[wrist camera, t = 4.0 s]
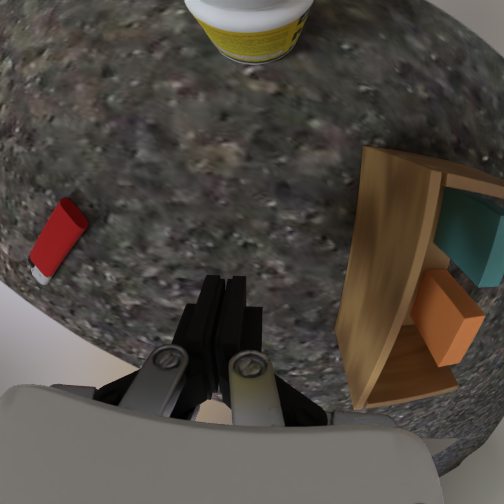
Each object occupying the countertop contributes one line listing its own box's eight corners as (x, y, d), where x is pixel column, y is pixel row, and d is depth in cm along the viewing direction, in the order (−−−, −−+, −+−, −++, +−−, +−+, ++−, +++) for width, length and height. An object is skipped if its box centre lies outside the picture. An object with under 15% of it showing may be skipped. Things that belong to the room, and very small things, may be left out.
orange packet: (425, 269, 16) (464, 318, 12) (446, 269, 16) (486, 315, 11) (409, 315, 18) (438, 367, 13) (429, 313, 18) (459, 362, 13)
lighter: (82, 231, 16) (43, 288, 18) (91, 224, 17) (51, 280, 19) (57, 201, 15) (23, 263, 17) (67, 195, 16) (31, 256, 18)
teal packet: (444, 184, 14) (501, 215, 9) (465, 188, 14) (521, 218, 9) (432, 242, 16) (478, 288, 11) (453, 243, 16) (498, 286, 11)
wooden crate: (362, 145, 14) (431, 169, 7) (466, 164, 14) (543, 199, 7) (334, 328, 20) (353, 410, 13) (422, 323, 19) (458, 389, 13)
